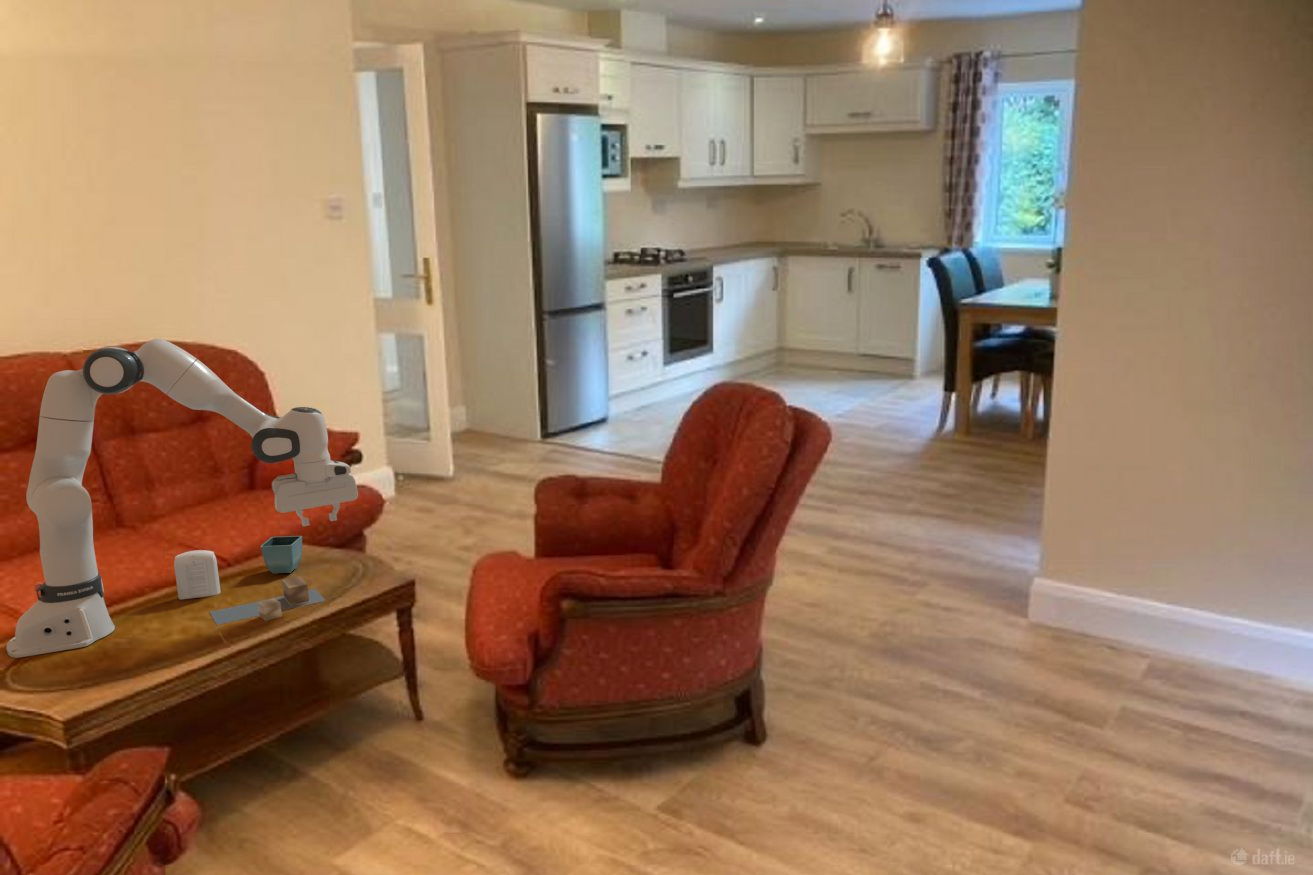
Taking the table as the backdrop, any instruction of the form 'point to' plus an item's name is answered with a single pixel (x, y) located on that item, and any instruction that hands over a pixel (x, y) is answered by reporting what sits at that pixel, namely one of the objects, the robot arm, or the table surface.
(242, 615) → the mat
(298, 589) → the walnut block
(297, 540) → the flower pot
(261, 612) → the maple cube
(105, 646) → the table surface
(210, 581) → the white upright rounded block
